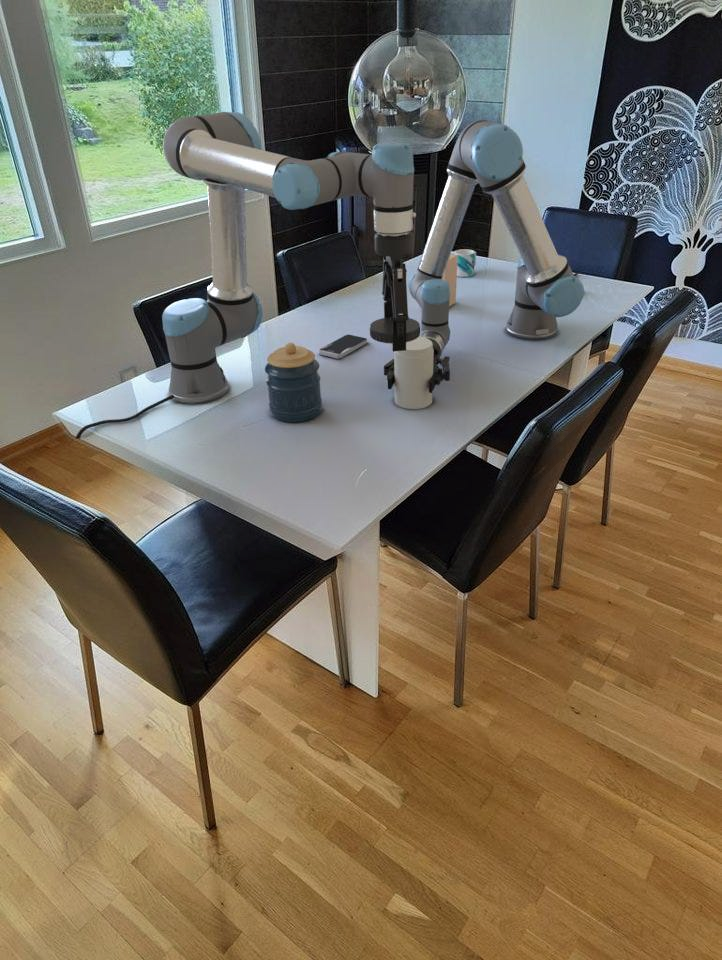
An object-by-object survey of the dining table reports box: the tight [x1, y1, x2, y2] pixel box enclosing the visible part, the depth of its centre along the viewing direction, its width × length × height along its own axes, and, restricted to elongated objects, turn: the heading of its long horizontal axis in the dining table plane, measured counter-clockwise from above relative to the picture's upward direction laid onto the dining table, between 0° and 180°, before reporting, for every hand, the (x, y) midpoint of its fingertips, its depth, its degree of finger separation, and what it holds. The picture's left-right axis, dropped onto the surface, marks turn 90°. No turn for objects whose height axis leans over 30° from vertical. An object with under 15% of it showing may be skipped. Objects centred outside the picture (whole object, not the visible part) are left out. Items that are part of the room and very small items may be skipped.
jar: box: [393, 336, 434, 410], centre depth 165 cm, size 10×10×15 cm
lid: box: [369, 317, 421, 345], centre depth 141 cm, size 10×11×2 cm
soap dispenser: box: [442, 253, 458, 308], centre depth 225 cm, size 13×9×22 cm
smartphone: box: [318, 334, 368, 360], centre depth 199 cm, size 8×1×15 cm
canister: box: [264, 342, 323, 423], centre depth 161 cm, size 13×13×18 cm
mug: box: [453, 248, 477, 278], centre depth 259 cm, size 8×12×8 cm
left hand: (394, 340), depth 142 cm, fingers closed on lid, 10 cm apart
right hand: (409, 385), depth 162 cm, fingers closed on jar, 9 cm apart
